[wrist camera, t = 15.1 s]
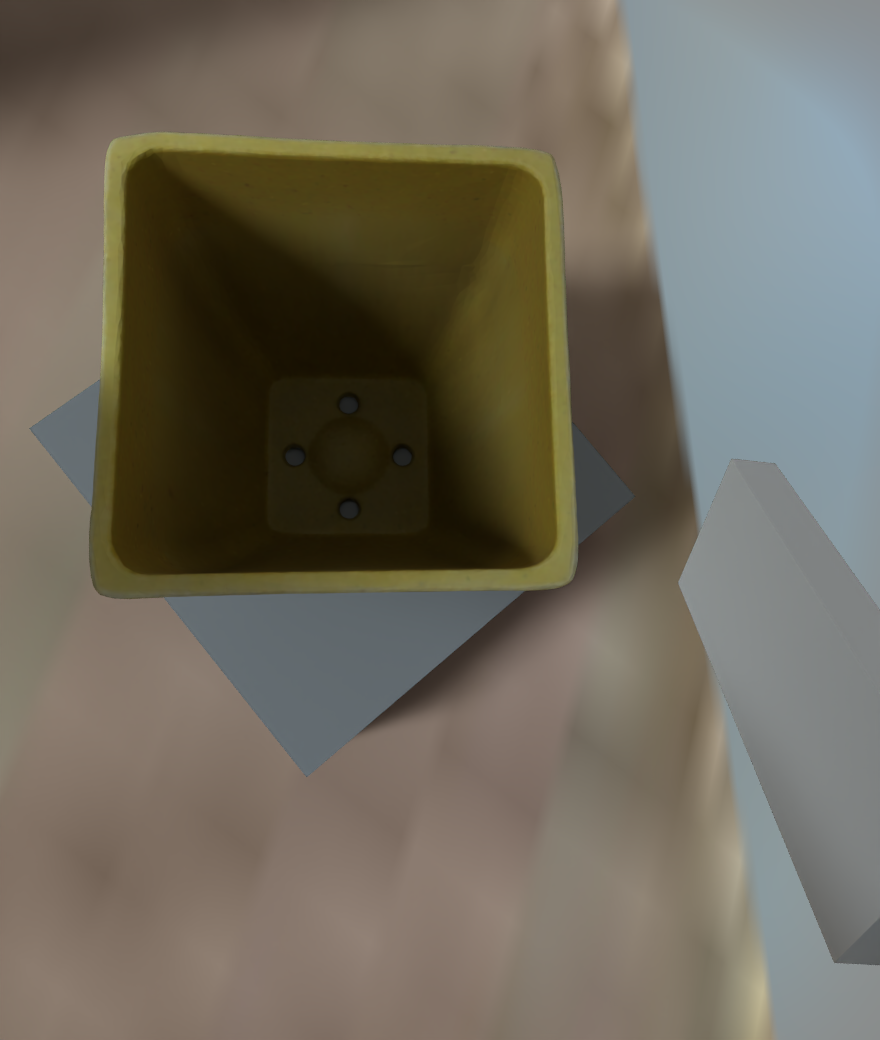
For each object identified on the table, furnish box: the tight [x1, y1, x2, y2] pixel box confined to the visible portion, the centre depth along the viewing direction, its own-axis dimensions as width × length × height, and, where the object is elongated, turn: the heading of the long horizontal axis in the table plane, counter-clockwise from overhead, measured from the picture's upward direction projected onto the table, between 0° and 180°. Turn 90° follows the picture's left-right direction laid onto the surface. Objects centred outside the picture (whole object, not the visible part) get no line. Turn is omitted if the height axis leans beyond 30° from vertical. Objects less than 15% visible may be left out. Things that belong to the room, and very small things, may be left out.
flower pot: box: [89, 132, 578, 599], centre depth 18 cm, size 9×9×9 cm
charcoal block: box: [29, 380, 635, 777], centre depth 25 cm, size 13×13×5 cm
